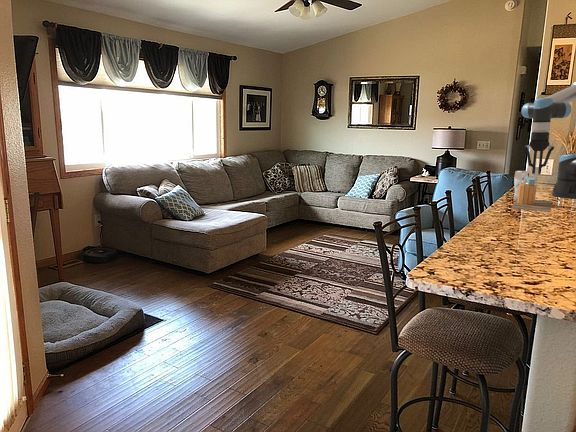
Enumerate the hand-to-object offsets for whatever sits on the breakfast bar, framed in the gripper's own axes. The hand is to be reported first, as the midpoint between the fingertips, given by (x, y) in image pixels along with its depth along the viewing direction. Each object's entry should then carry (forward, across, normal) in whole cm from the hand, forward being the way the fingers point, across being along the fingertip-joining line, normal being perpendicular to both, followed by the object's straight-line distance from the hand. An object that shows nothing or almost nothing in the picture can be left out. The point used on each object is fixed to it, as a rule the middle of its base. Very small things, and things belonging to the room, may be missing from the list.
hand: (535, 180), depth 221 cm
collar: (+11, +3, +1) cm, 12 cm away
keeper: (+2, +2, -3) cm, 4 cm away
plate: (+13, +1, +4) cm, 13 cm away
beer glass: (+13, +7, -17) cm, 22 cm away
